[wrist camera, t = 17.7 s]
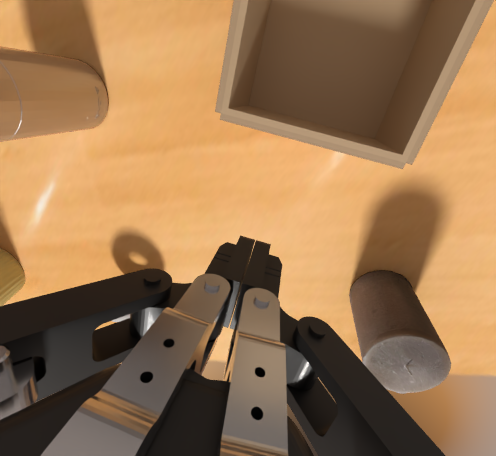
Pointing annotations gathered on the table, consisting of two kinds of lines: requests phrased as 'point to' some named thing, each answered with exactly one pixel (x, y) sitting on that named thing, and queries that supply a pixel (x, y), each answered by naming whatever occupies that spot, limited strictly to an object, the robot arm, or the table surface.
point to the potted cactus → (9, 276)
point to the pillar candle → (396, 334)
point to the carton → (346, 70)
